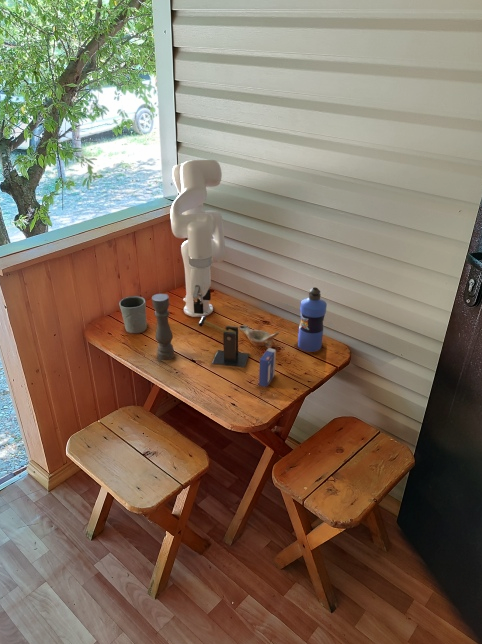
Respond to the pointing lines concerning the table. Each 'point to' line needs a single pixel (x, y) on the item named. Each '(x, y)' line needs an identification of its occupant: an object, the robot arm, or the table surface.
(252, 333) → the oil lamp
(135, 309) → the grey green planter pot
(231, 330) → the switch lever
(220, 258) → the robot arm
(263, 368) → the walkman
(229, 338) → the switch base
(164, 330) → the candle holder
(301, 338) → the water bottle
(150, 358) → the table surface
